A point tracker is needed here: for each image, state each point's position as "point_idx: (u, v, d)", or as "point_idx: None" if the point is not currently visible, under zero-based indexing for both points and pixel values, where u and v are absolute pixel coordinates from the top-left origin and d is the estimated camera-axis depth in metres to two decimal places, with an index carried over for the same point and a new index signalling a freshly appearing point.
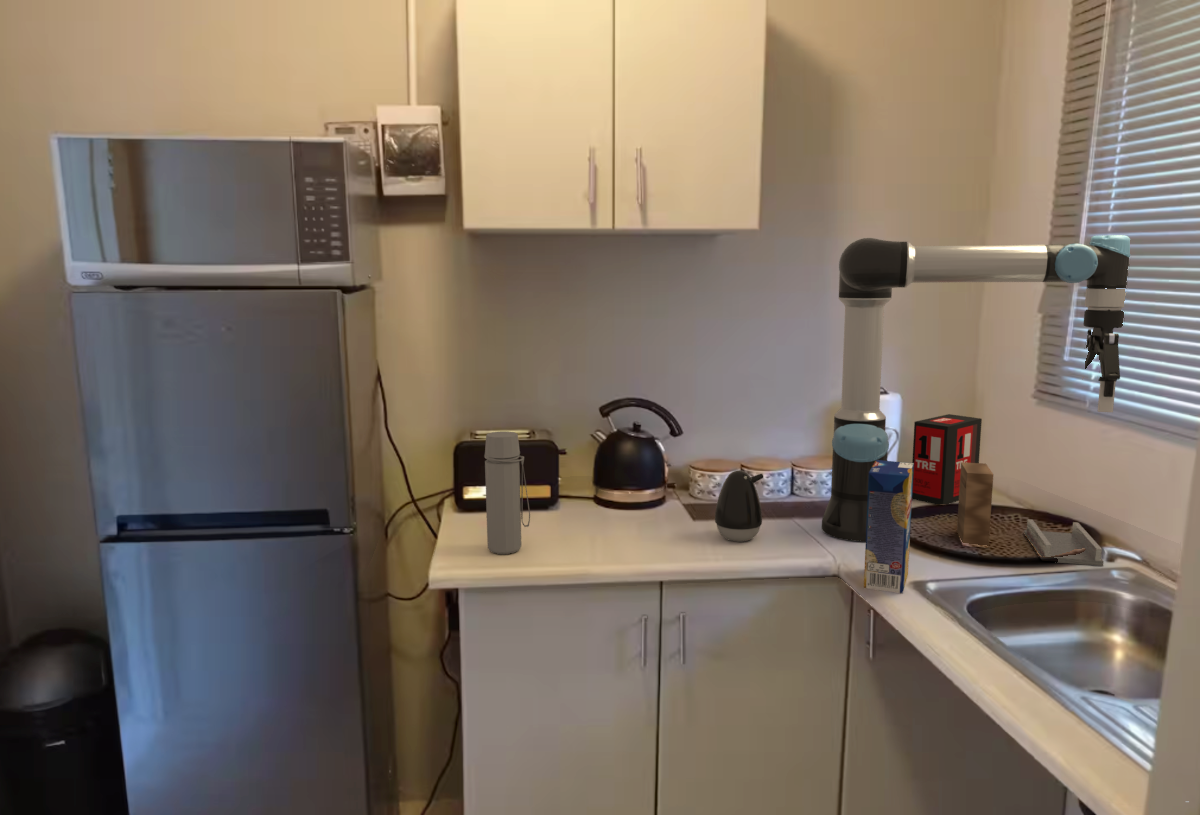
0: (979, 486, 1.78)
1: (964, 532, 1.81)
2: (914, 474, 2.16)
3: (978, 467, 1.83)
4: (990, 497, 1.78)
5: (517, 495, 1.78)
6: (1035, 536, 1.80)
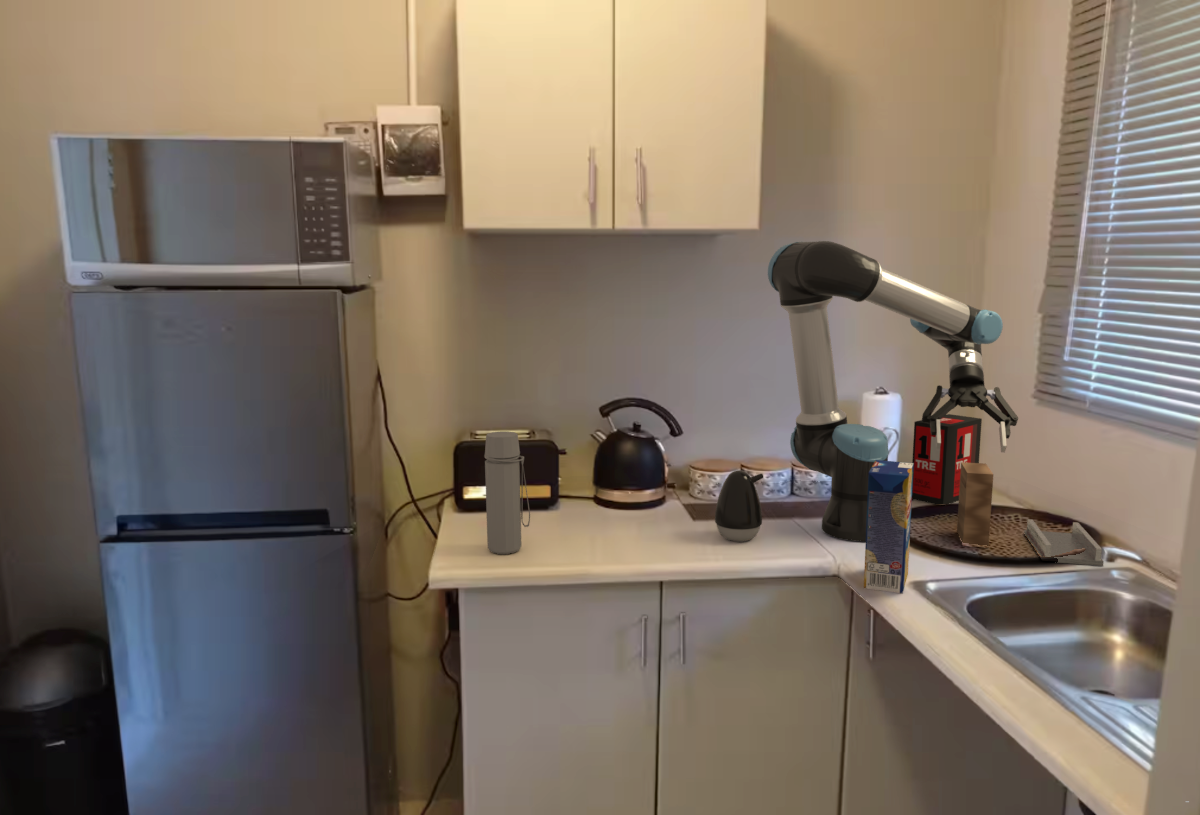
0: (979, 486, 1.78)
1: (964, 532, 1.81)
2: (914, 474, 2.16)
3: (978, 467, 1.83)
4: (990, 497, 1.78)
5: (517, 495, 1.78)
6: (1035, 536, 1.80)
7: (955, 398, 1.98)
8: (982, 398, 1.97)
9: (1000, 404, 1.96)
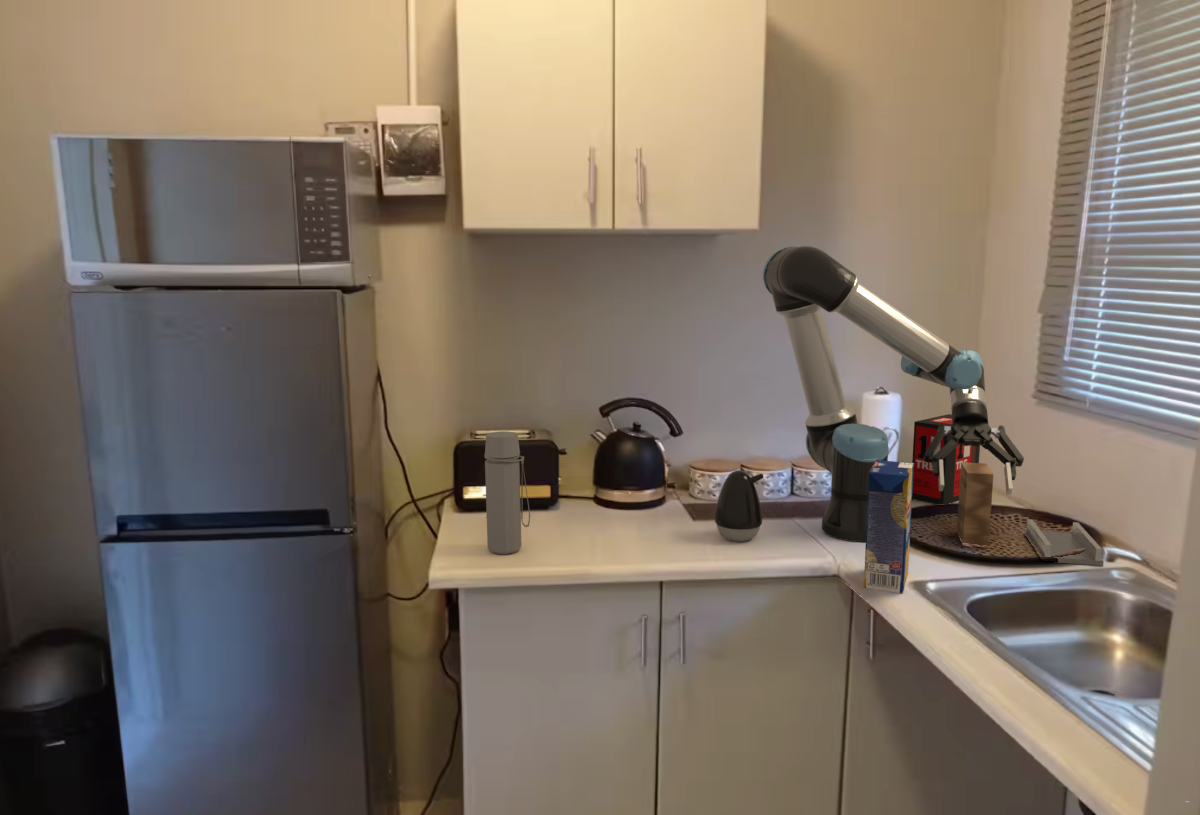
0: (979, 486, 1.78)
1: (964, 532, 1.81)
2: (914, 474, 2.16)
3: (978, 467, 1.83)
4: (990, 497, 1.78)
5: (517, 495, 1.78)
6: (1035, 536, 1.80)
7: (959, 437, 1.91)
8: (986, 437, 1.89)
9: (1005, 443, 1.89)
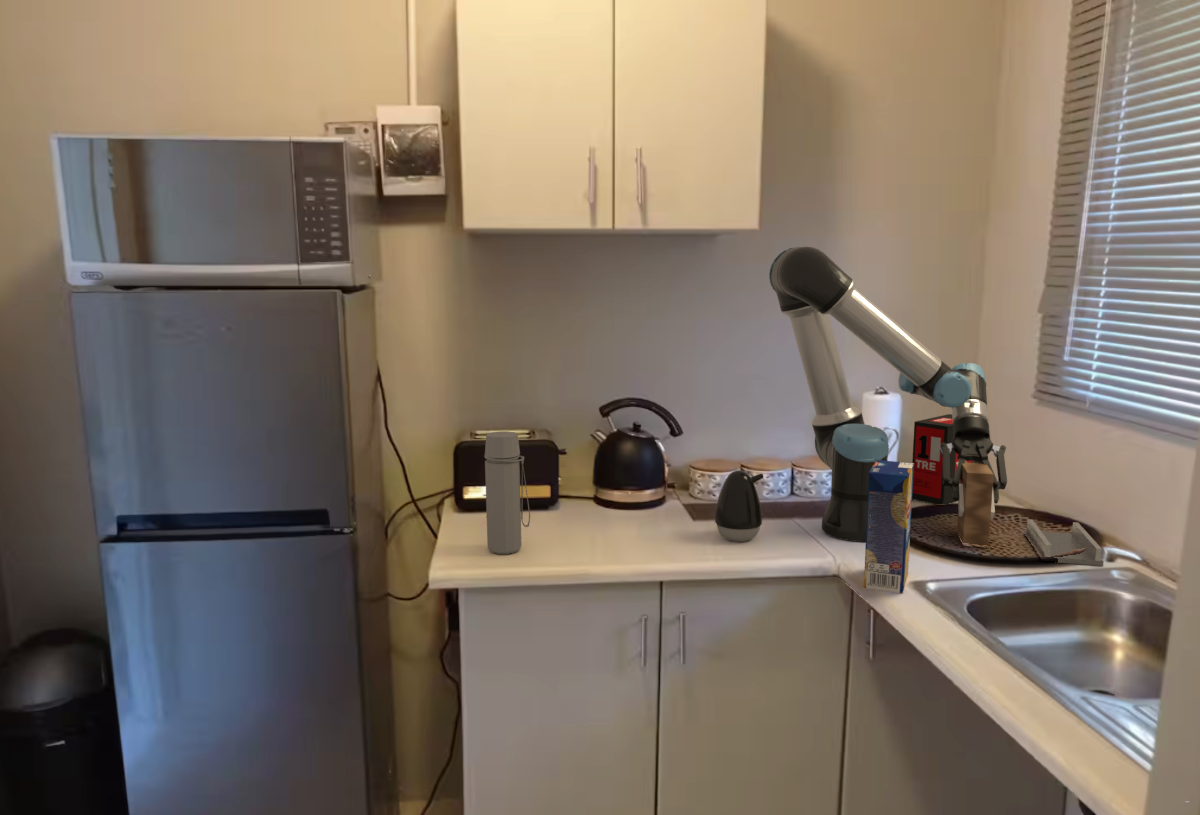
0: (979, 486, 1.78)
1: (964, 532, 1.81)
2: (914, 474, 2.16)
3: (978, 467, 1.83)
4: (990, 497, 1.78)
5: (517, 495, 1.78)
6: (1035, 536, 1.80)
7: (966, 454, 1.87)
8: (982, 454, 1.86)
9: (998, 463, 1.86)
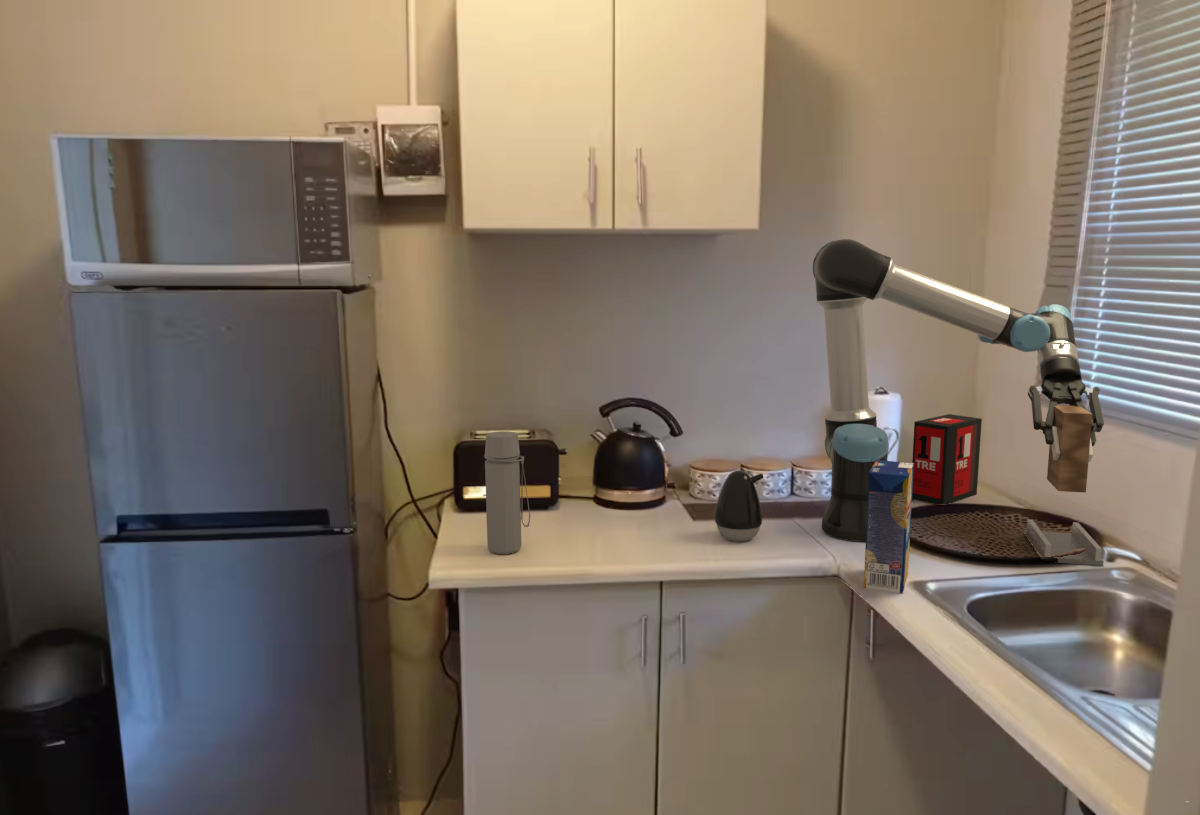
0: (1077, 427, 1.70)
1: (1060, 476, 1.72)
2: (914, 474, 2.16)
3: (1073, 408, 1.75)
4: (1088, 438, 1.69)
5: (517, 495, 1.78)
6: (1035, 536, 1.80)
7: (1058, 396, 1.79)
8: (1075, 396, 1.78)
9: (1092, 405, 1.77)
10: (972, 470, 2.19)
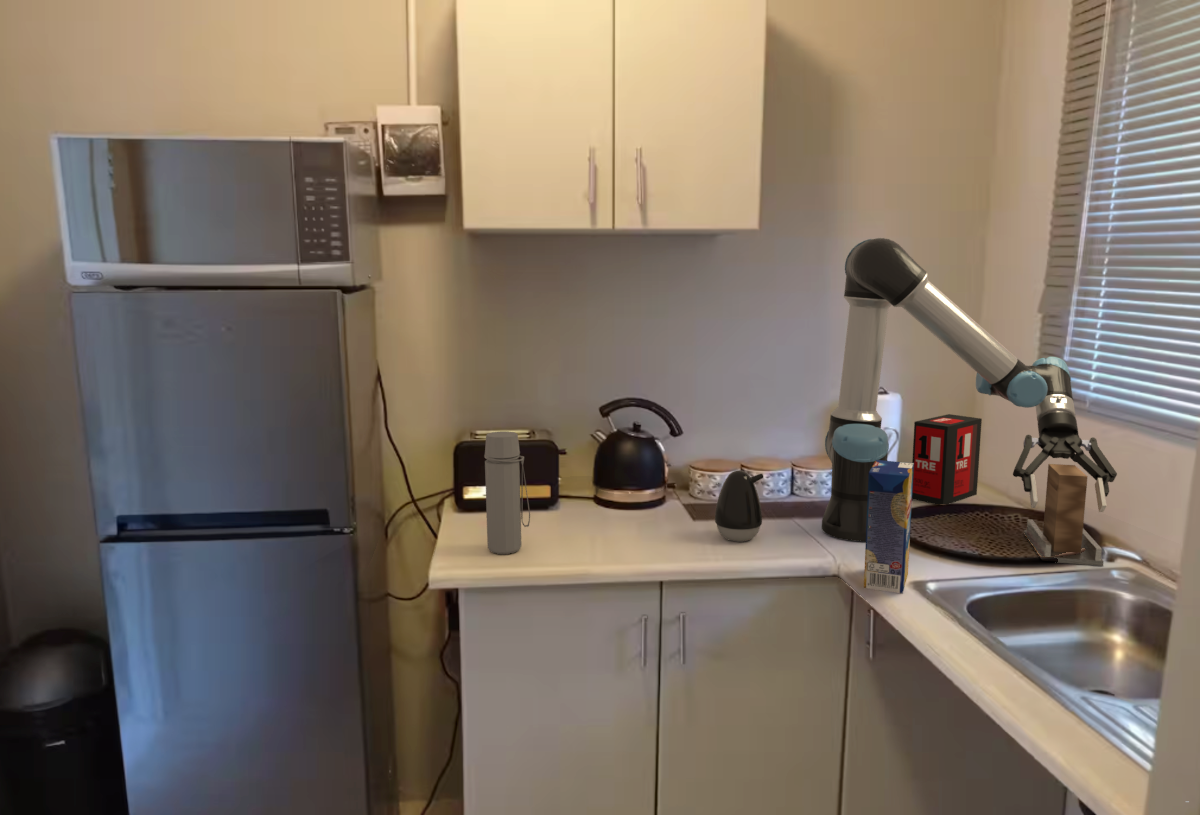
0: (1072, 489, 1.72)
1: (1055, 536, 1.74)
2: (914, 474, 2.16)
3: (1068, 469, 1.77)
4: (1083, 500, 1.71)
5: (517, 495, 1.78)
6: (1035, 536, 1.80)
7: (1049, 449, 1.81)
8: (1077, 449, 1.80)
9: (1096, 457, 1.79)
10: (972, 470, 2.19)
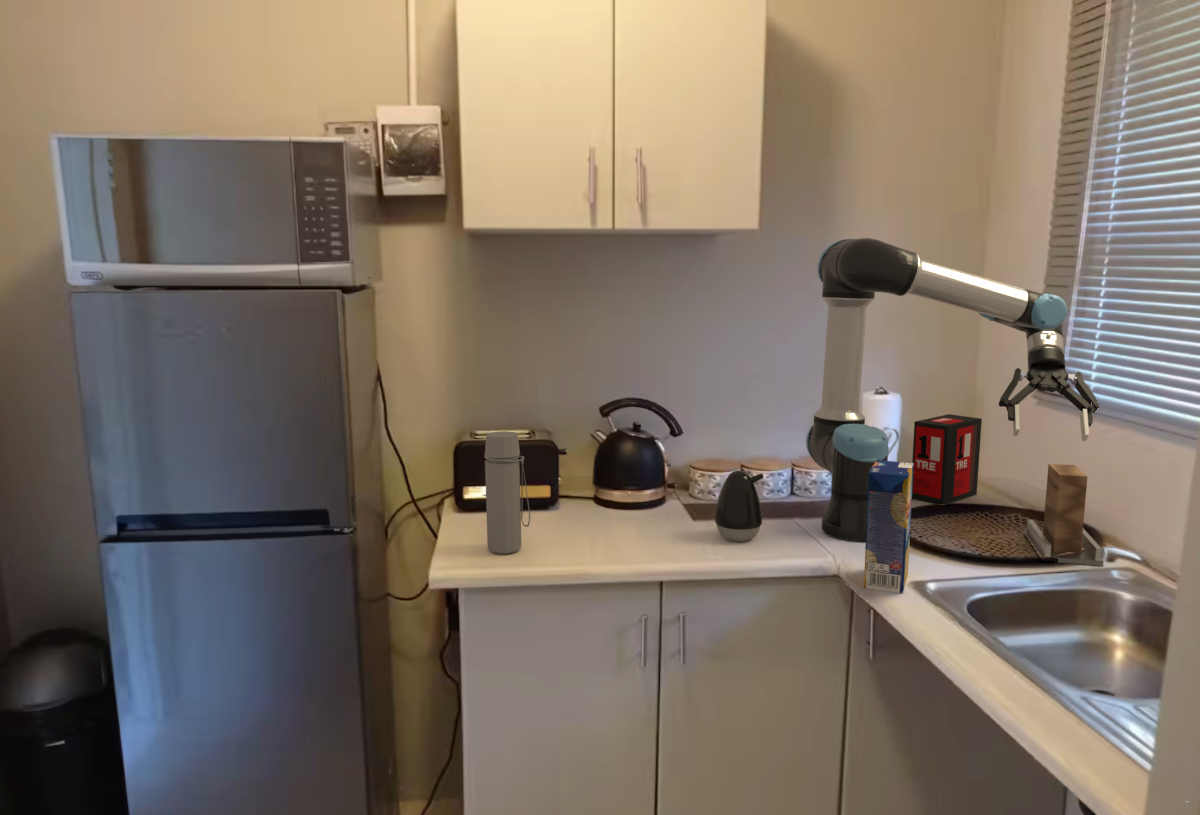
0: (1072, 489, 1.72)
1: (1055, 536, 1.74)
2: (914, 474, 2.16)
3: (1068, 469, 1.77)
4: (1083, 500, 1.71)
5: (517, 495, 1.78)
6: (1035, 536, 1.80)
7: (1035, 383, 1.92)
8: (1063, 383, 1.90)
9: (1082, 390, 1.90)
10: (972, 470, 2.19)
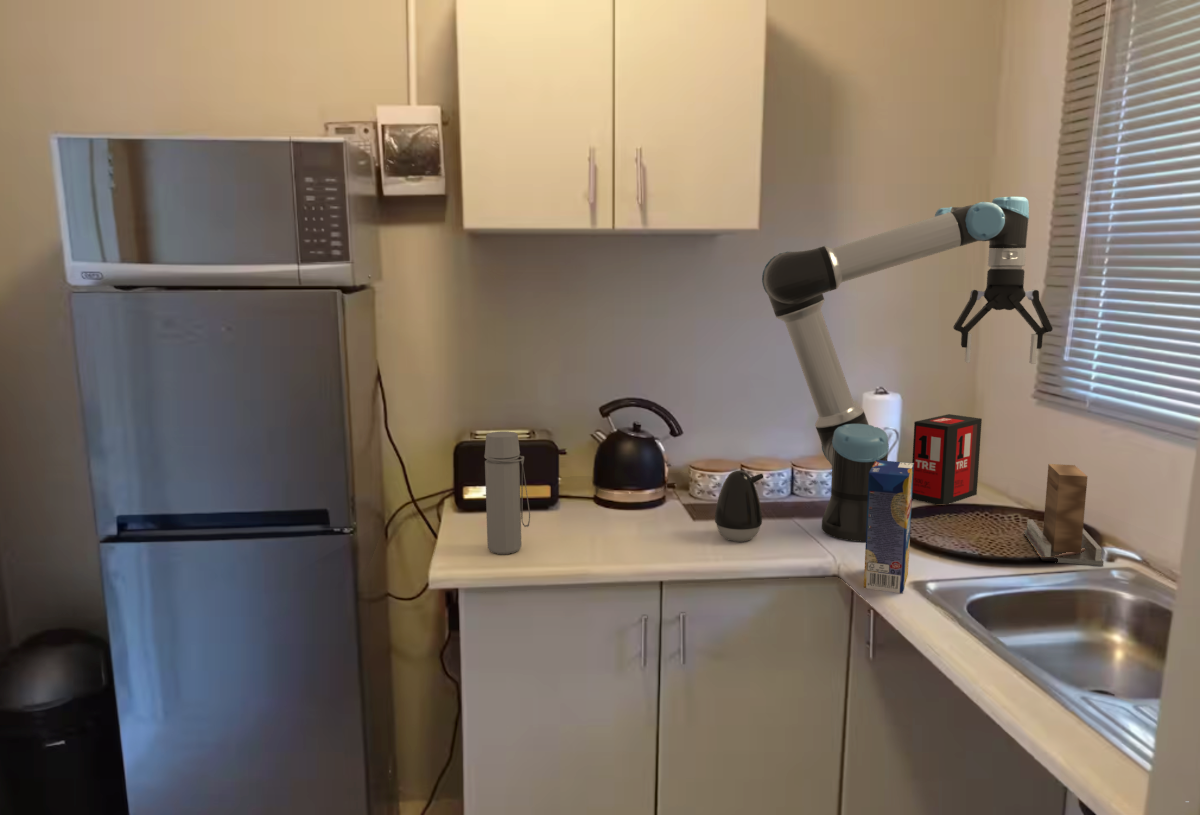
0: (1072, 489, 1.72)
1: (1055, 536, 1.74)
2: (914, 474, 2.16)
3: (1068, 469, 1.77)
4: (1083, 500, 1.71)
5: (517, 495, 1.78)
6: (1035, 536, 1.80)
7: (990, 308, 1.92)
8: (1018, 307, 1.90)
9: (1036, 310, 1.90)
10: (972, 470, 2.19)
